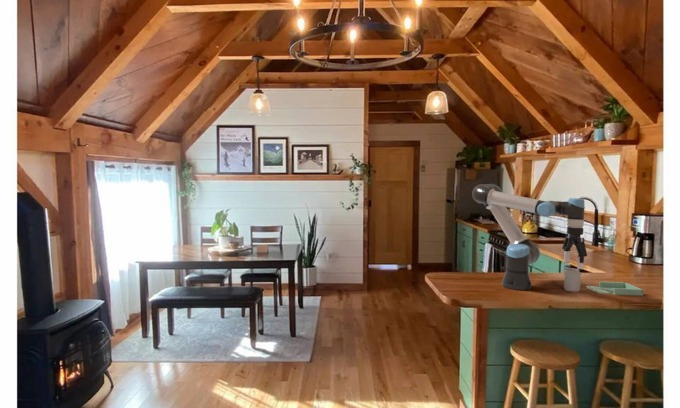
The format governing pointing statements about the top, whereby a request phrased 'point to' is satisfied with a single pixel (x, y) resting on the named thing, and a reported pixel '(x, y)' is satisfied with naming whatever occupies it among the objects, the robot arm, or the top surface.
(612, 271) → the top surface
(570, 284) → the can
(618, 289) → the green open box
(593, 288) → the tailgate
